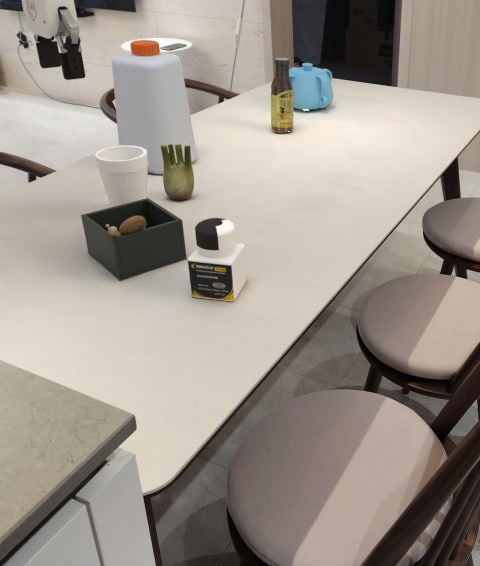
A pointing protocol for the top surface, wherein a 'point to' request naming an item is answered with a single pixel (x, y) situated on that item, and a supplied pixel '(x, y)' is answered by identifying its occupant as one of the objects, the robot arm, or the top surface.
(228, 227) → the medicine bottle
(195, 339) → the top surface
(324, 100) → the decorative pot
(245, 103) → the top surface
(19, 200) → the top surface
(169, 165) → the fennel bulb
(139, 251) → the bin
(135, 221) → the snail figurine
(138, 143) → the plastic bottle
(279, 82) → the sauce bottle
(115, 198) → the foam cup
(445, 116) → the top surface
